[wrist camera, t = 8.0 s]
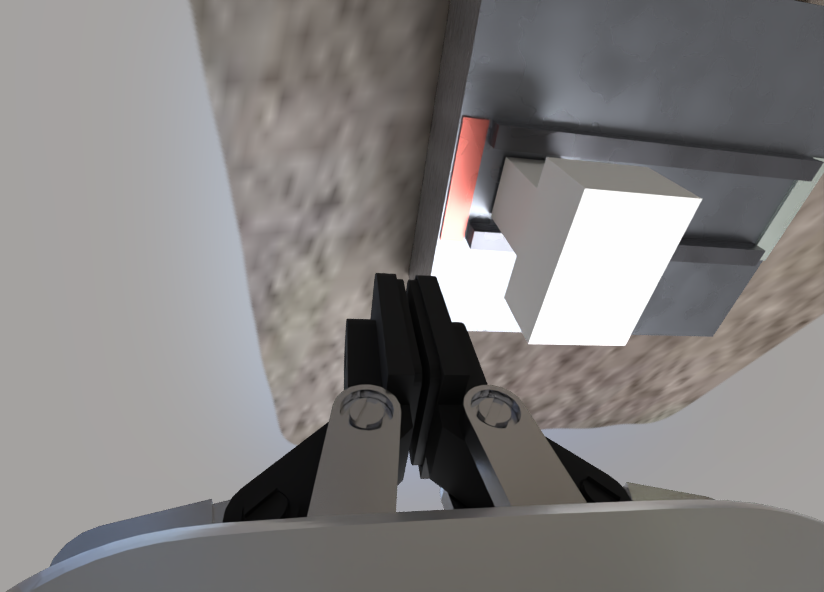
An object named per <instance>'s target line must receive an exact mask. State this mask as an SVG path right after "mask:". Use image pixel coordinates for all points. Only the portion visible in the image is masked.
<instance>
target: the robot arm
mask: <svg viewBox="0 0 824 592" xmlns="http://www.w3.org/2000/svg"><path fill="white" fill-rule="evenodd" d="M408 453H410V460H411V464H412V465H418V466H419V471H420V478H421V479H428V478H430V479H431V480H432V481H434V482H435V483H436V484H437V485H439V486H440V497H441V501H442V504H443V507H444V510H432V511H412V512H396V499H397V486H398V485H399V483H400V482H401V481H402V480H403V477H404V472H405V467H406V463H407V457H408ZM6 592H824V522H823V521H820V520H818V519H815V518H813V517H810V516H807V515H803V514H800V513H797V512H794V511H790V510H787V509H782V508H777V507H773V506H767V505H763V504H757V503H750V502H739V501H729V500H715V499H712V498H709V497H706V496H700V495H695V494H689V493H684V492H678V491H673V490H667V489H662V488H655V487H650V486H644V485H640V484H634V483H629V482H627V483H626V484H625V486H624V487H622V486H621V485H620V484H619V483H618V482H617V481H616V480H614V479H613V478H612V477H610V476H609V475H608V474H606V473H604V472H603V471H601V470H599V469H598V468H596V467H594V466H593V465H591V464H589V463H588V462H586V461H585V460H583V459H581V458H579V457H578V456H576V455H574V454H573V453H572V452H570V451H568V450H567V449H565V448H563V447H562V446H560V445H558V444H557V443H555V442H553V441H552V440H550V439H548V438H547V437H545V436H544V434H543V433H542V431H541V430H540V428H539V427H538V425H537V424H536V422H535V420H534V419H533V417H532V416H531V414H530V413H529V411H528V409H527V408H526V406H525V405H524V403H523V402H522V401H521V400H520V399H519V397H517V396H516V395H515V394H513V393H512V392H511V391H508V390H506V389H504V388H502V387H498V386H494V385H487V382H486V379H485V377H484V374H483V371H482V369H481V366H480V363H479V361H478V358H477V355H476V353H475V350H474V347H473V345H472V342H471V339H470V337H469V334H468V331H467V329H466V326H465V324H464V323H462V322H452V321H451V318H450V315H449V312H448V309H447V306H446V303H445V300H444V297H443V294H442V291H441V288H440V286H439V283H438V280H437V277H436V276H426V275H416V276H415V279H414V280H408V282H407V289H406V290H405V286H404V281H403V279H397V277H396V274H385V273H376V274H375V279H374V289H373V300H372V310H371V319H347V321H346V335H345V354H344V391H342V392H341V393H340V394H339V395H338V396H337V397H336V399H335V401H334V403H333V406H332V410H331V415H330V419H329V422H328V423H327V424H325V425H324V426H323V427H321V428H320V429H319V430H317V431H316V432H315V433H313V434H312V435H311V436H309V437H308V438H307V439H306V440H304V441H303V442H302V443H300V444H299V445H298V446H296V447H295V448H294V449H292V450H291V451H290V452H288V453H287V454H286V455H285V456H283V457H282V458H281V459H279V460H278V461H277V462H275V463H274V464H273V465H271V466H270V467H269V468H268V469H266V470H265V471H264V472H262V473H261V474H260V475H258V476H257V477H256V478H254V479H253V480H252V481H250V482H249V483H248V484H246V485H245V486H244V487H243V488H241V489H240V490H239V491H238V492H237V493H236V494H235V495H234V496H233V497H232V499H231V500H228V501H223V502H219V503H216V504H213V502H212V499H209V500H205V501H201V502H197V503H193V504H188V505H184V506H180V507H176V508H172V509H168V510H164V511H160V512H155V513H151V514H147V515H143V516H139V517H135V518H131V519H127V520H123V521H118V522H114V523H110V524H106V525H102V526H98V527H96V528H93V529H91V530H88V531H86V532H83V533H81V534H80V535H78V536H77V537H76V538H74V539H73V540H71V541H70V542H68V543H67V544H66V545H65V546H64V547H63V548H62V549H61V551H60V552H59V553H58V554H57V555H56V556H55V557H54V559H53V561H52V563H51V565H50V567H49V568H47V569H45V570H43V571H40V572H39V573H37V574H35V575H33V576H31V577H29V578H27V579H25V580H24V581H22V582H20V583H18V584H17V585H15V586H14V587H12V588H11V589H9V590H7V591H6Z"/></svg>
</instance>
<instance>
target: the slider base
mask: <svg viewBox="0 0 824 592" xmlns="http://www.w3.org/2000/svg"><path fill="white" fill-rule="evenodd" d="M506 157H513V158H523V159H533V160H543V161H545V160H546V157H552V158H562V159H572V160H582V161H592V162H602V163H611V164H621V165H631V166H641V167H648V168H650V169H652V170H653V171H655V172H657V173H659V174H660V175H662V176H664V177H666V178H667V179H669V180H671V181H672V182H674V183H676V184H678V185H679V186H681V187H683V188H684V189H686V190H688V191H690V192H691V193H693V194H695V195H696V196H698V197H700V198H702V201H701V202H700V204H699V206H698V208H697V210H696V212H695V214H694V216H693V218H692V219H691V221H690V223H689V225H688V227H687V229H686V231H685V233H684V235H683V237H682V238H681V240H680V242H679V244H678V246H677V248H676V250H675V252H674V254H673V256H672V257H671V259H670V261H669V263H668V265H667V267H666V269H665V271H664V273H663V275H662V276H661V278H660V280H659V282H658V284H657V286H656V288H655V290H654V292H653V294H652V295H651V297H650V299H649V301H648V303H647V305H646V307H645V309H644V311H643V312H642V314H641V316H640V318H639V320H638V322H637V324H636V326H635V328H634V330H633V331H632V333H631V335H669V336H712V337H713V335H714V334H715V332H716V331H717V329H718V328H719V326H720V325H721V323H722V322H723V320H724V319H725V317H726V315H727V314H728V312H729V311H730V309H731V308H732V306H733V305H734V303H735V302H736V300H737V299H738V297H739V296H740V294H741V293H742V291H743V290H744V288H745V287H746V285H747V284H748V282H749V281H750V279H751V278H752V276H753V275H754V273H755V272H756V270H757V269H758V267H759V266H760V264H761V263H762V261H763V260H766V258H767V257H768V255H769V254H770V252H771V251H772V249H773V248H774V246H775V245H776V243H777V242H778V240H779V239H780V237H781V236H782V234H783V233H784V231H785V230H786V228H787V227H788V225H789V224H790V222H791V221H792V219H793V218H794V216H795V215H796V213H797V212H798V210H799V209H800V207H801V206H802V204H803V203H804V201H805V200H806V198H807V197H808V195H809V194H810V192H811V191H812V189H813V188H814V186H815V185H816V183H817V182H818V180H819V179H820V177H821V176H822V174H823V173H824V6H821V5H816V4H811V3H805V2H800V1H795V0H450V5H449V11H448V18H447V25H446V31H445V38H444V44H443V51H442V58H441V64H440V71H439V78H438V84H437V91H436V97H435V104H434V111H433V117H432V124H431V130H430V137H429V144H428V150H427V157H426V164H425V170H424V177H423V183H422V190H421V197H420V203H419V210H418V216H417V223H416V230H415V236H414V243H413V250H412V256H411V263H410V269H409V280H414V279H415V276H416V275H426V276H436V277H437V280H438V283H439V286H440V288H441V291H442V294H443V297H444V300H445V303H446V306H447V309H448V312H449V315H450V318H451V321H452V322H462V323H464V324H465V326H466V329H467V331H498V332H522V331H521V329H520V327H519V325H518V324H517V322H516V320H515V318H514V316H513V314H512V312H511V310H510V308H509V306H508V304H507V303H506V301H505V299H504V296H505V293H506V289H507V286H508V283H509V279H510V276H511V273H512V269H513V266H514V263H515V259H516V254H515V252H514V251H513V249H512V248H511V246H510V245H509V243H508V242H507V240H506V239H505V237H504V236H503V234H502V233H501V231H500V230H499V228H498V227H497V225H496V223H495V222H494V220H493V219H492V217H491V214H492V210H493V207H494V203H495V199H496V195H497V191H498V187H499V183H500V179H501V175H502V171H503V167H504V163H505V159H506Z"/></svg>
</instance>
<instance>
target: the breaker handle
mask: <svg viewBox="0 0 824 592" xmlns="http://www.w3.org/2000/svg"><path fill="white" fill-rule="evenodd" d="M701 201H702V198H700V197H698V196H696V195H695V194H693V193H691V192H690V191H688V190H686V189H684V188H683V187H681V186H679V185H678V184H676V183H674V182H672V181H671V180H669V179H667V178H666V177H664V176H662V175H660V174H659V173H657V172H655V171H653V170H652V169H650V168H648V167H641V166H631V165H621V164H611V163H602V162H592V161H582V160H572V159H562V158H552V157H546V160H545V161H543V160H533V159H523V158H513V157H506V159H505V163H504V167H503V171H502V175H501V179H500V183H499V187H498V191H497V195H496V199H495V203H494V207H493V210H492V214H491V217H492V219H493V220H494V222H495V223H496V225H497V227H498V228H499V230H500V231H501V233H502V234H503V236H504V237H505V239H506V240H507V242H508V243H509V245H510V246H511V248H512V249H513V251H514V252H515V254H516V259H515V263H514V266H513V269H512V273H511V276H510V279H509V283H508V286H507V289H506V293H505V296H504V299H505V301H506V303H507V304H508V306H509V308H510V310H511V312H512V314H513V316H514V318H515V320H516V322H517V324H518V325H519V327H520V329H521V331H522V333H523V335H524V337H525V339H526V341H527V343H528V344H560V345H615V346H625V345H626V343H627V341H628V339H629V337H630V335H631V333H632V331H633V330H634V328H635V326H636V324H637V322H638V320H639V318H640V316H641V314H642V312H643V311H644V309H645V307H646V305H647V303H648V301H649V299H650V297H651V295H652V294H653V292H654V290H655V288H656V286H657V284H658V282H659V280H660V278H661V276H662V275H663V273H664V271H665V269H666V267H667V265H668V263H669V261H670V259H671V257H672V256H673V254H674V252H675V250H676V248H677V246H678V244H679V242H680V240H681V238H682V237H683V235H684V233H685V231H686V229H687V227H688V225H689V223H690V221H691V219H692V218H693V216H694V214H695V212H696V210H697V208H698V206H699V204H700V202H701Z"/></svg>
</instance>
